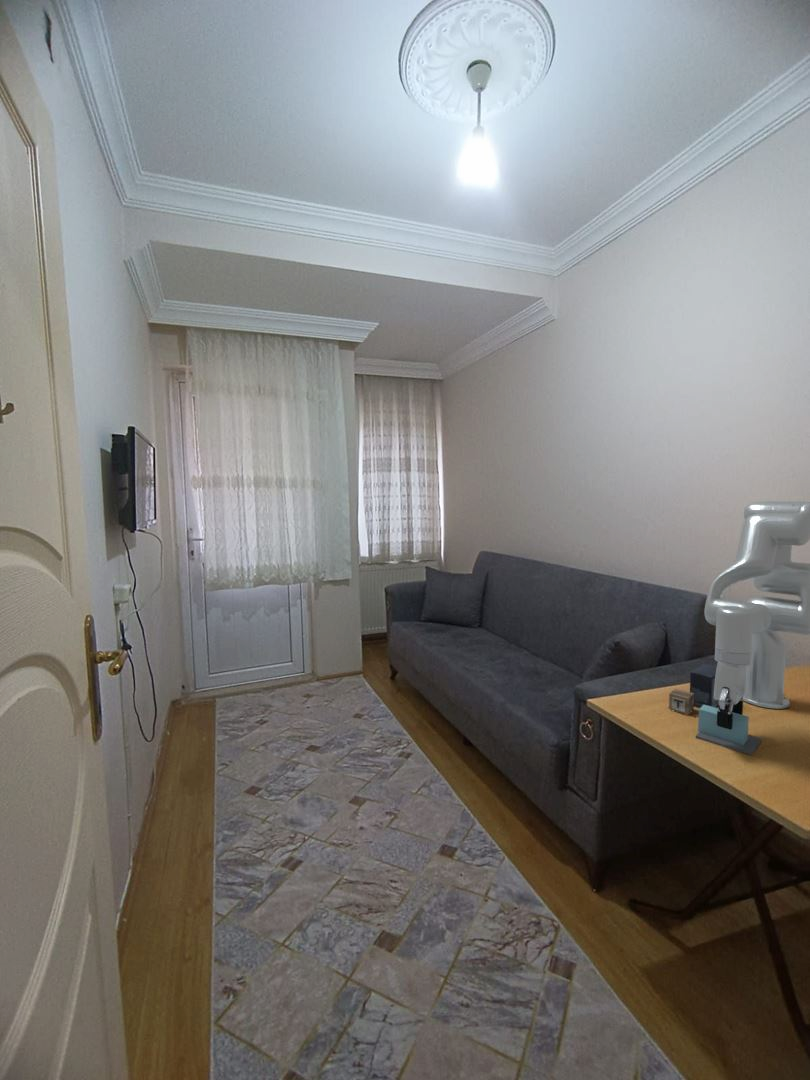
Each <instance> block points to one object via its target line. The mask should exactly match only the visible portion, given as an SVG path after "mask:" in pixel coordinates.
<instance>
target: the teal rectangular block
mask: <svg viewBox="0 0 810 1080" xmlns="http://www.w3.org/2000/svg"><path fill="white" fill-rule="evenodd" d="M717 709H718V708H715V707H711V706H707V705H703V706H702V707H701V708H699V709H698V724H697V731H698V733H699V732H702V733H706V734H709V735H712V736H715V737H719V738H722V739H725V740H728V741H732V742H735V743H738V744H741V745H744V744H745V743H746V741H747V740H748V735H749V719H750V718H749V717H750V716H747V715H744V714H742V715H741V714H737V713H733V712H732V713H731V714H733V726H732V729H731V730H730V729H726V728H723V727H719V726H717Z"/></svg>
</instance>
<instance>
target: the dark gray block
mask: <svg viewBox="0 0 810 1080" xmlns="http://www.w3.org/2000/svg"><path fill="white" fill-rule="evenodd" d="M695 738H696V739H700V740H702V741H705V742H708V743H712V744H714V745H718V746H721V747H724V748H728V749H731V750H733V751H737V752H739V753H744V754H746V755H748V756H753V755H754V753H755V752H756V751H757V749H758V747H759V745H760V744H761V742H762V738H760V737H758V736H753V735H750V734H748V740H747V741H746V743H745V744H744V745H741V744H738V743H735V742H732V741H728V740H725V739H722V738H719V737H715V736H712V735H709V734H706V733H702V732H699V731H698V732H697V734H696V735H695Z"/></svg>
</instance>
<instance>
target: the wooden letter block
mask: <svg viewBox="0 0 810 1080" xmlns="http://www.w3.org/2000/svg"><path fill="white" fill-rule="evenodd" d="M668 695H669V696H668V697H669V698H668V699H669V700H668V710H669V709H671V710H670V711H672V710H674V711H673V712H675V711H677V712H676V713H679V712H680V713H679V714H682V713H684V714H683V715H685V714H687V715H686V716H689V715H690V714H691V713H692V712H693V711H694V710H695V706H694V693H691V692H690V691H686V690H684V689H683V690H682V689H679V688H674V689H673V690H672V691H670V692H669V694H668ZM691 711H692V712H691ZM690 712H691V713H690ZM689 713H690V714H689ZM688 714H689V715H688Z"/></svg>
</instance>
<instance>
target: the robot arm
mask: <svg viewBox="0 0 810 1080" xmlns="http://www.w3.org/2000/svg"><path fill="white" fill-rule="evenodd" d="M743 518H744V522H743V524H742V528H741V533H740V537H739V541H738V546H737V550H736V551H737V552H736V555H735V561H734V562H733V564H731V565H730V566H728V567H726V568H725V569H724V570H723V571H721V572H719V574H718V575H717V576H716V577H715V578H714V579H713V580H712V582H711V584H710V585H709V587H708V591H707V596H706V600H705V605H704V612H703V613H704V614H703V615H704V617H705V620H706V622H707V623H708V624H710V625H712V626H715V644H714V661H716V662H717V663H716V664H717V665H716V666H717V669H716V676H715V686H714V699H715V700H719V704H718V709H717V726H719V727H723V728H726V729H730V730H731V729H732V726H733V714H731V713H732V712H733V713H737V714H741V715H744V714H743V713H744V712H743V711H744V709H743V708H744V702H745V703H748V704H750V705H754V706H757V707H762V708H768V709H776V710H782V709H786V708H789V706H790V700H789V699H788V698H787V697H785V695H784V686H785V672H786V657H787V655H786V654H787V646H786V643H785V640H784V639H783V638H782V636H781V635H780V633H779V632H781V633H782V632H783V633H789V634H795V635H800V636H801V635H802V636H810V563H808V562H795V561H794V562H793V561H792V551H793V548H792V547H793V546H795V547H796V546H804V545H806V544H807V543H808V542H809V541H810V501H801V500H800V501H782V500H780V501H778V500H777V501H776V500H775V501H771V500H769V501H768V500H766V501H754V502H752V503H748V504H746V505H745V507H744V509H743ZM751 579H753V586H754V587H755V588H756V589H757V590H759V591H761V592H766V593H771V594H780V595H788V596H795V597H796V596H797V597H798V598H799V599H800V600H796V599H787V598H781V597H773V596H763V595H760V596H758V595H757V596H753V597H750V598H749V599H748V600H746V601H744V600H743V601H742V600H737V599H729V598H722V597H723V595H724V593H725V591H727V589H729V588H730V587H731V586H734V585H735V584H738V583H740V582H743V581H747V580H751Z"/></svg>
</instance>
